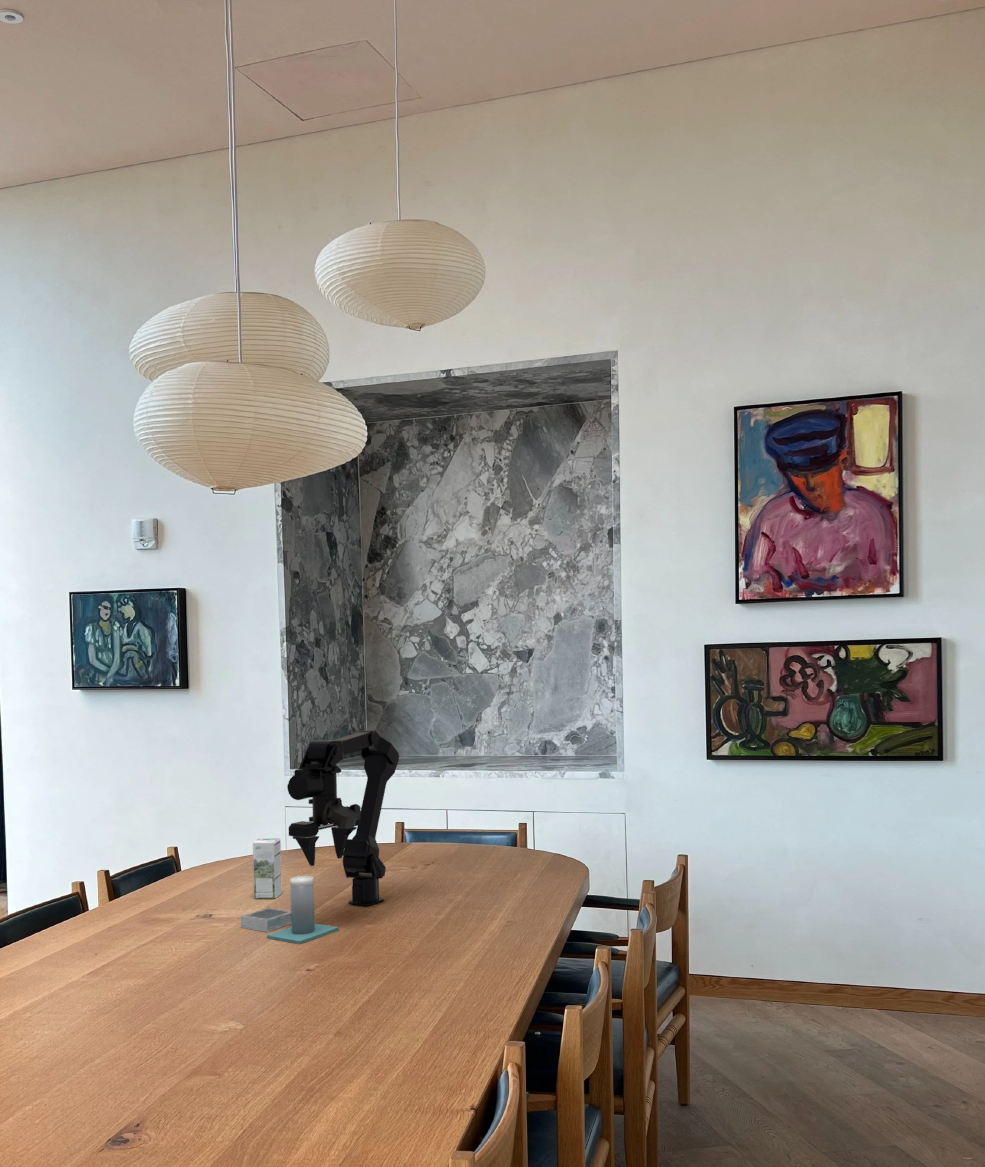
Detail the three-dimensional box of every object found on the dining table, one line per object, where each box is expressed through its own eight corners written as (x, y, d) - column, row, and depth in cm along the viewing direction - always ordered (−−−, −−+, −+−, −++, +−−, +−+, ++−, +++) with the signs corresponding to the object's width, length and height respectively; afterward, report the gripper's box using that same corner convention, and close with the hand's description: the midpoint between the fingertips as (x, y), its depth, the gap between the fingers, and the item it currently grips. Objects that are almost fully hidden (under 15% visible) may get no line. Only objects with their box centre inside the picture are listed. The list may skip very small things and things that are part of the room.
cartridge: (296, 928, 221) (294, 875, 222) (317, 927, 221) (315, 875, 222) (288, 934, 216) (286, 880, 217) (310, 934, 216) (309, 880, 217)
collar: (268, 918, 233) (268, 907, 233) (295, 922, 228) (294, 911, 229) (240, 927, 226) (240, 916, 226) (267, 931, 221) (267, 920, 221)
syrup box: (282, 893, 258) (281, 837, 259) (275, 899, 252) (273, 841, 253) (261, 894, 259) (259, 837, 260) (253, 899, 253) (252, 841, 254)
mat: (306, 924, 226) (305, 922, 226) (338, 930, 221) (338, 927, 221) (266, 938, 216) (266, 935, 216) (300, 944, 211) (300, 941, 211)
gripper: (322, 801, 221) (323, 872, 219) (376, 790, 236) (378, 857, 235) (286, 798, 227) (287, 868, 226) (341, 788, 242) (343, 853, 241)
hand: (326, 861), depth 232 cm, fingers open, 9 cm apart
